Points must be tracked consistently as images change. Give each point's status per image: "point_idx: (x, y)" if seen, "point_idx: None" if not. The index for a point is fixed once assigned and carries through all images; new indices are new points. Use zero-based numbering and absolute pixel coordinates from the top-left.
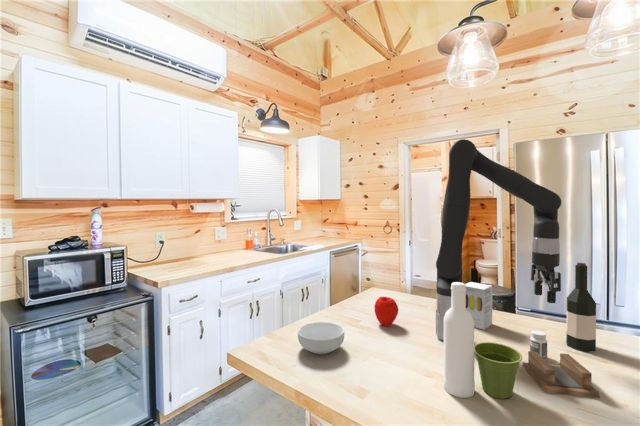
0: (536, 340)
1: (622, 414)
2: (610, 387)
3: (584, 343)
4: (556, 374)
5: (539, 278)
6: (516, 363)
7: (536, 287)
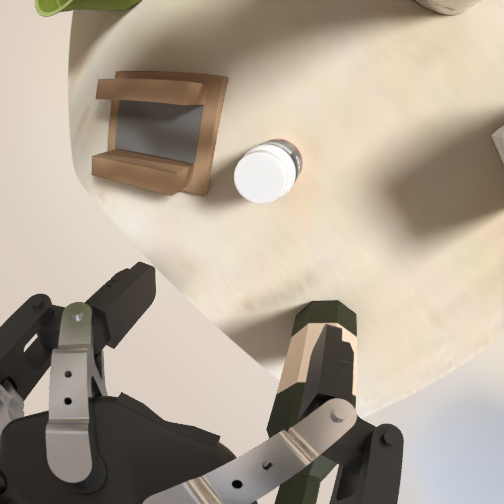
0: (247, 152)
1: (82, 170)
2: (145, 220)
3: (297, 325)
4: (157, 128)
5: (208, 444)
6: (42, 4)
7: (317, 374)
